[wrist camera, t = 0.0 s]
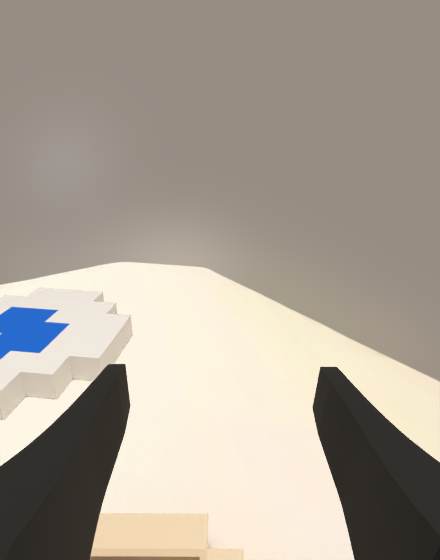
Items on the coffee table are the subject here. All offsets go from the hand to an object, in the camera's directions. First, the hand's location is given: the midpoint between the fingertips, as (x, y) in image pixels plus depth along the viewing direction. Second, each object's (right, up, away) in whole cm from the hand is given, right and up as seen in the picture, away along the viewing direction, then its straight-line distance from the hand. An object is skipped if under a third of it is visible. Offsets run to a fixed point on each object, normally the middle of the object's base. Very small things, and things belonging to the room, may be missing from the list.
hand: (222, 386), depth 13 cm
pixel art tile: (-29, -7, +41) cm, 51 cm away
